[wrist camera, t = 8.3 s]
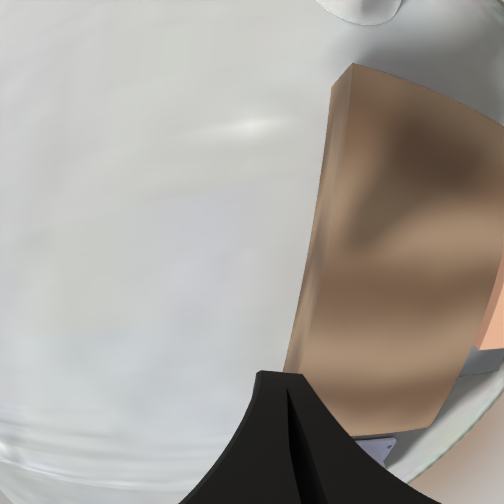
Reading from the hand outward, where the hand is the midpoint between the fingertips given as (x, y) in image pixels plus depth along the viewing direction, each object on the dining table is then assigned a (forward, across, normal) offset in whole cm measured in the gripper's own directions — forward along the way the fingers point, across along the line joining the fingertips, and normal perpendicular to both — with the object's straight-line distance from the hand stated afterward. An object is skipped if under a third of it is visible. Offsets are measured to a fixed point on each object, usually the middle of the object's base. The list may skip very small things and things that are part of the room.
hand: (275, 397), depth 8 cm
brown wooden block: (+9, -8, -2) cm, 12 cm away
